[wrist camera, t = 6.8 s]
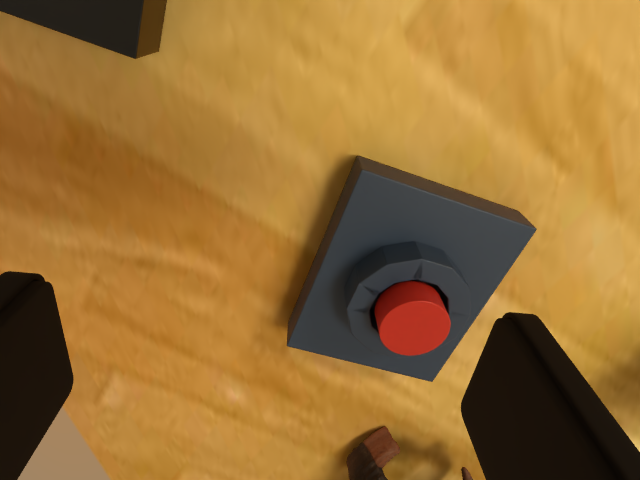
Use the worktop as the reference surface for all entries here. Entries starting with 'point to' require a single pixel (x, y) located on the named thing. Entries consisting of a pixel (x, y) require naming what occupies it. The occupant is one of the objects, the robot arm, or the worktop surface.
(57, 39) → the worktop surface
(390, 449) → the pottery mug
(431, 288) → the button
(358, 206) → the red push button box
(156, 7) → the base
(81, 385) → the worktop surface
